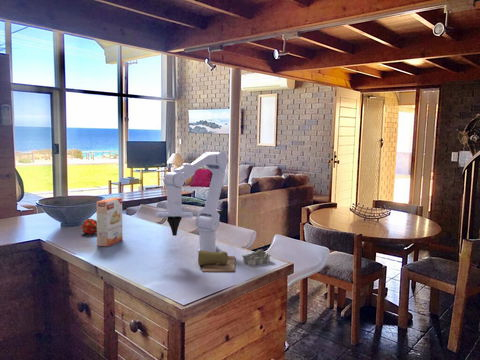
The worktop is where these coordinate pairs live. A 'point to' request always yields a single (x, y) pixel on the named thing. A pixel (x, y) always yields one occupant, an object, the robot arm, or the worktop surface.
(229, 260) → the board
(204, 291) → the worktop surface
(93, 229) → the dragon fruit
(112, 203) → the cracker box
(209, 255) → the cork
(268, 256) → the egg carton
